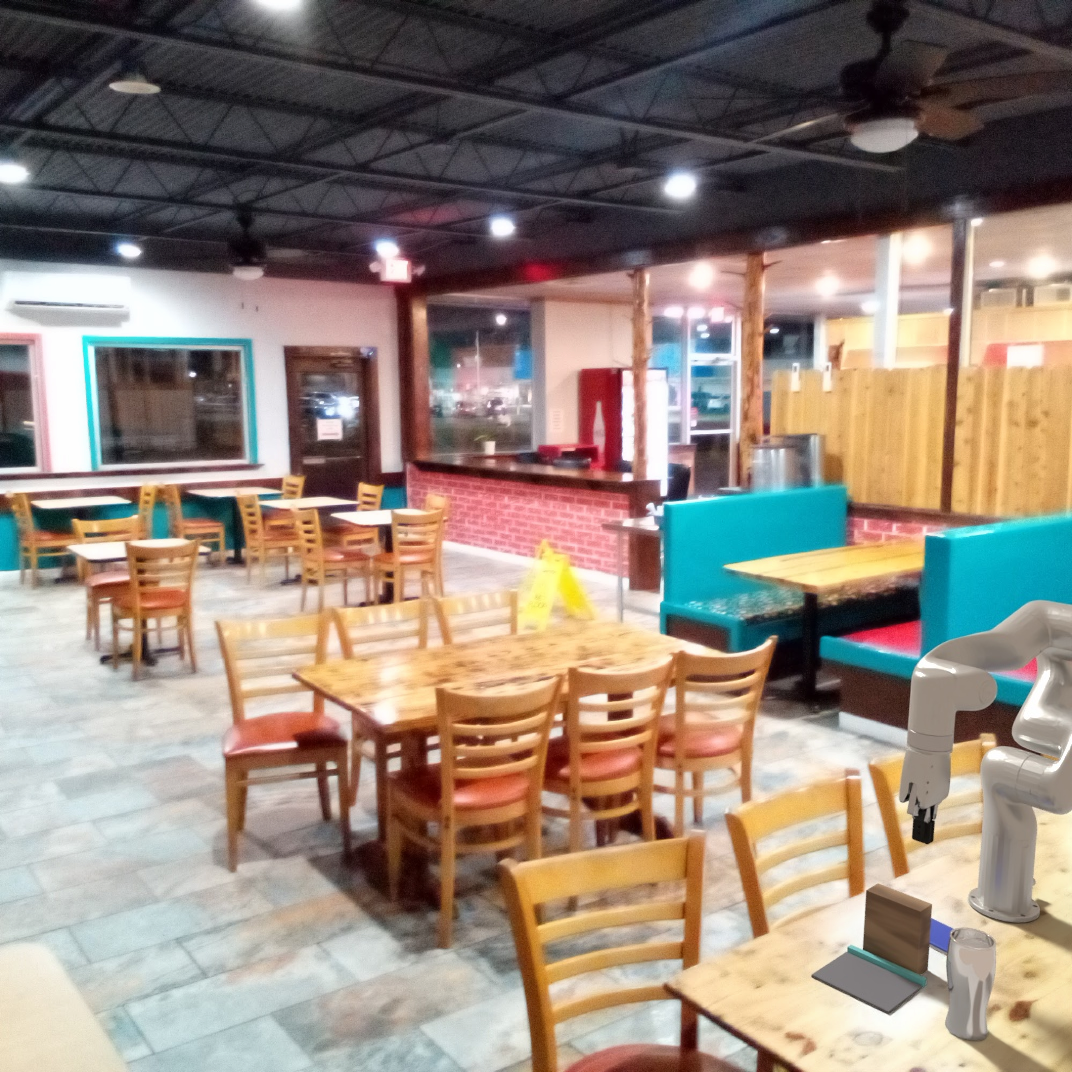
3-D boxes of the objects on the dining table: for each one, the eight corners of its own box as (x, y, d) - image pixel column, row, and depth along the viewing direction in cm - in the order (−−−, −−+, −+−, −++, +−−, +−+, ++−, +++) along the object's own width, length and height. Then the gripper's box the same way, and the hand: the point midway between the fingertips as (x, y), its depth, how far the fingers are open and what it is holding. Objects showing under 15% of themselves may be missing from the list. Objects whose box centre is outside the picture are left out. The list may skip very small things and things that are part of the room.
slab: (874, 947, 180) (877, 883, 179) (927, 970, 173) (932, 904, 171) (862, 954, 178) (866, 890, 176) (916, 978, 170) (920, 911, 169)
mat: (846, 953, 178) (846, 951, 178) (921, 988, 167) (922, 985, 167) (811, 976, 170) (811, 974, 170) (888, 1013, 160) (888, 1011, 160)
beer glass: (967, 1047, 152) (973, 953, 150) (932, 1021, 158) (938, 931, 156) (1000, 1036, 155) (1008, 944, 153) (965, 1011, 161) (971, 923, 159)
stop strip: (850, 950, 179) (851, 944, 179) (926, 984, 168) (926, 978, 168) (847, 953, 178) (847, 946, 178) (922, 987, 168) (923, 980, 168)
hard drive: (904, 928, 185) (966, 959, 175) (931, 916, 189) (992, 945, 179) (903, 936, 185) (965, 968, 175) (930, 924, 190) (992, 954, 179)
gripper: (929, 726, 184) (922, 823, 186) (888, 742, 174) (881, 845, 176) (970, 737, 178) (962, 836, 180) (930, 754, 168) (922, 859, 170)
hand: (922, 840), depth 178 cm, fingers closed
